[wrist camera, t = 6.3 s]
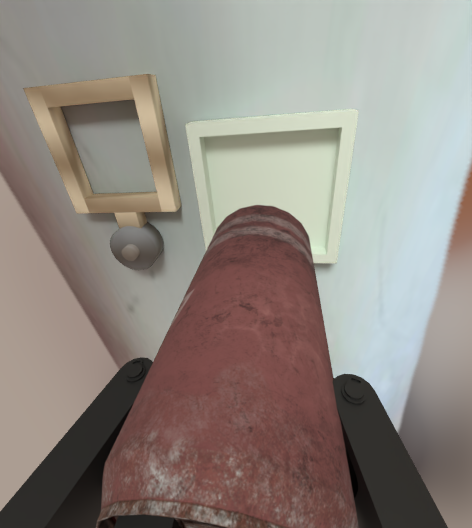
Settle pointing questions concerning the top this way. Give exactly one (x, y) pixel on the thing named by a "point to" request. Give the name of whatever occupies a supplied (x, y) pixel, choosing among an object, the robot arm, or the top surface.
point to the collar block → (73, 174)
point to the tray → (276, 170)
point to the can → (239, 396)
